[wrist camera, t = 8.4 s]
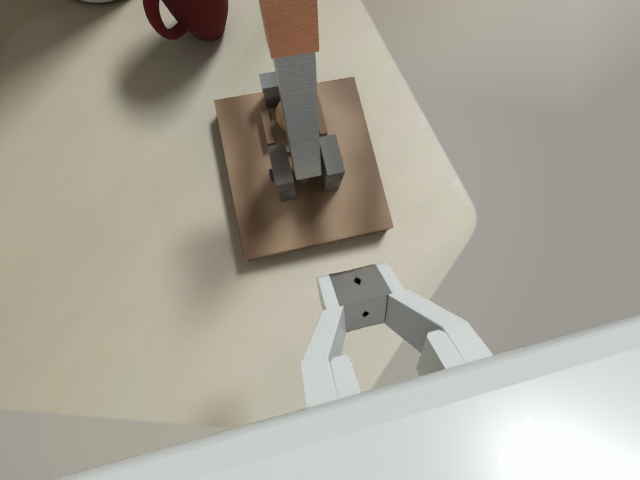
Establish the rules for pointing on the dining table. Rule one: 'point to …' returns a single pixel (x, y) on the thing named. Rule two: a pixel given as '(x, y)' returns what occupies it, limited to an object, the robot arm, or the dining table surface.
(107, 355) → the dining table surface
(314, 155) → the lever
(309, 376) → the robot arm
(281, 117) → the walnut
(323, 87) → the bench
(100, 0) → the cylinder vase
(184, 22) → the mug
